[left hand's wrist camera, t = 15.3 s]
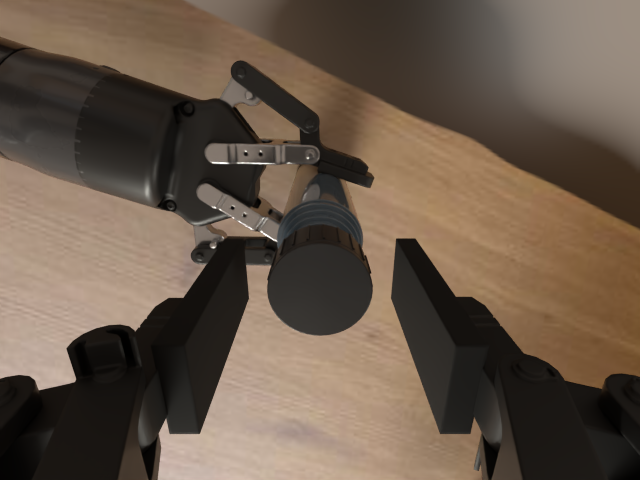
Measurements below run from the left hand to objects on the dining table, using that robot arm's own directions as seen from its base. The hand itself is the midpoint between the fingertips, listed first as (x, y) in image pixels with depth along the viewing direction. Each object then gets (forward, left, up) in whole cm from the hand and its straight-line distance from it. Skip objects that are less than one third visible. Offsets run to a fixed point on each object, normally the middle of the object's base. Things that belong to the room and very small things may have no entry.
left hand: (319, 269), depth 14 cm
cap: (0, 0, +2) cm, 2 cm away
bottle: (0, 0, -17) cm, 17 cm away
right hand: (-3, -1, -11) cm, 11 cm away
